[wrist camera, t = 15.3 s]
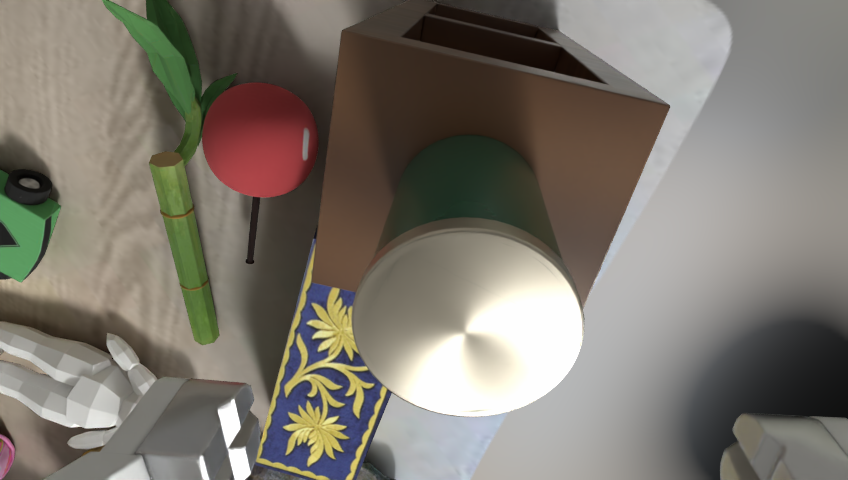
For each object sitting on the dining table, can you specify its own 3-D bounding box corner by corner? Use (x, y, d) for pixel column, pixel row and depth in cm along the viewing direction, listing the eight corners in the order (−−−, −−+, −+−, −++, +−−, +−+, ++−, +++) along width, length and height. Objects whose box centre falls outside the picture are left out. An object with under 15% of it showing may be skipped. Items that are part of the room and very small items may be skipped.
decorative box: (271, 409, 53) (235, 486, 45) (341, 141, 39) (308, 184, 31) (371, 439, 54) (353, 520, 46) (474, 186, 40) (474, 239, 32)
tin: (564, 150, 16) (622, 260, 10) (518, 281, 19) (542, 437, 12) (408, 114, 16) (369, 203, 10) (382, 251, 18) (337, 393, 12)
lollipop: (192, 291, 38) (192, 102, 30) (208, 229, 44) (213, 56, 36) (298, 298, 41) (326, 124, 32) (300, 238, 46) (325, 78, 38)
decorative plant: (157, 339, 47) (40, -17, 28) (209, 280, 53) (143, -44, 34) (218, 359, 46) (140, 5, 27) (264, 296, 53) (227, -27, 34)
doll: (-54, 280, 46) (211, 391, 47) (0, 267, 51) (235, 366, 53) (-91, 401, 47) (164, 505, 49) (-35, 376, 53) (192, 469, 54)
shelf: (414, -3, 35) (341, 29, 15) (559, 30, 35) (671, 105, 15) (391, 126, 39) (310, 283, 19) (521, 156, 39) (570, 340, 20)
